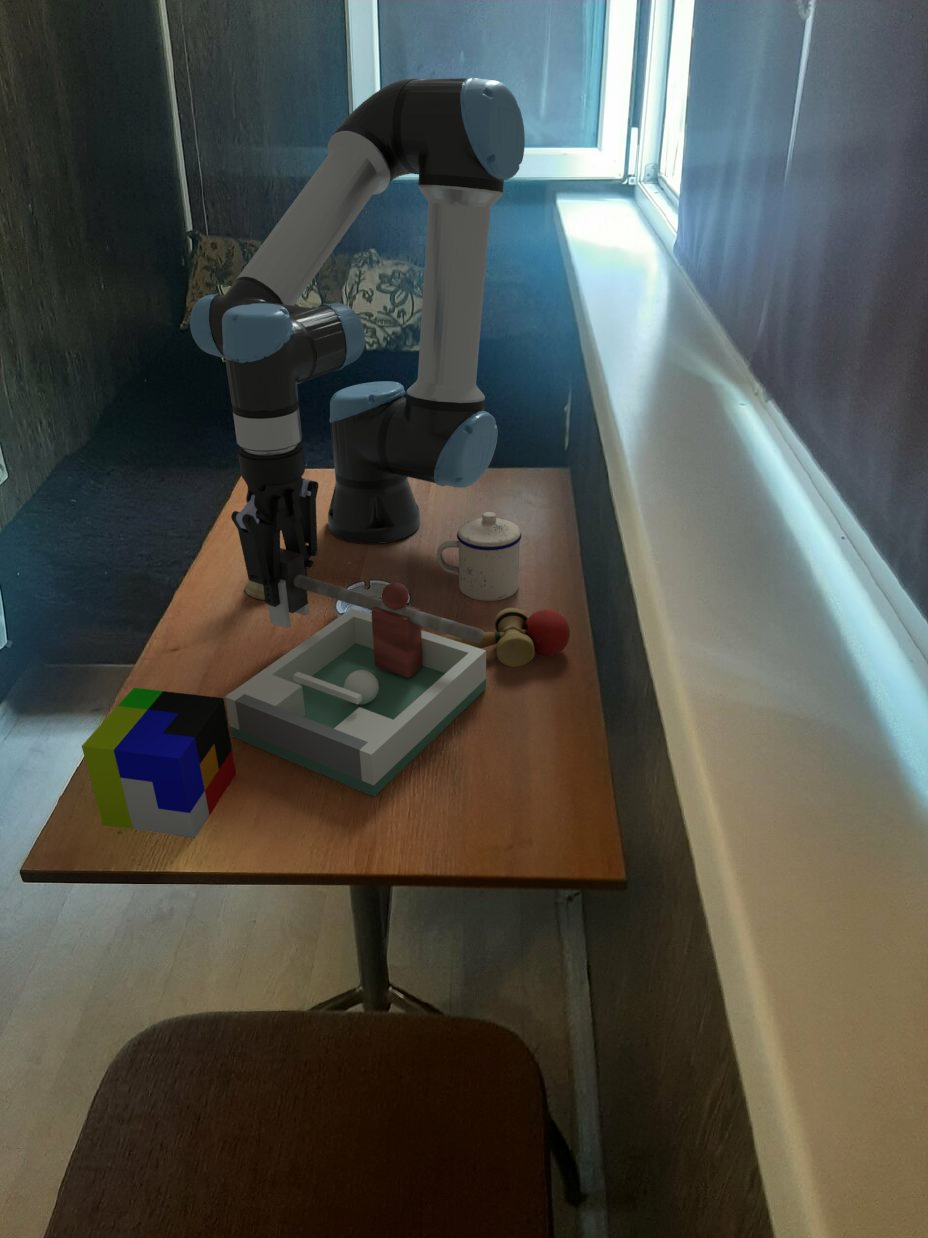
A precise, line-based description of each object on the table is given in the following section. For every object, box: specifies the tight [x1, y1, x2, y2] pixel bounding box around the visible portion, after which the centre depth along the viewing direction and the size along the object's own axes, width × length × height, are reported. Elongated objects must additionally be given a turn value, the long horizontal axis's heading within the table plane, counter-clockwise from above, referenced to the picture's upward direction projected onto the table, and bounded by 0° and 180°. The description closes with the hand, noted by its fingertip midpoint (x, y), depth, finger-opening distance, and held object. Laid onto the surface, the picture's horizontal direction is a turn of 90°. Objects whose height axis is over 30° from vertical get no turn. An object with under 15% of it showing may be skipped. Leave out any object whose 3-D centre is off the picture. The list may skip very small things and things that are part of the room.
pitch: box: [224, 608, 487, 797], centre depth 109 cm, size 23×20×7 cm
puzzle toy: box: [81, 687, 237, 839], centre depth 96 cm, size 10×10×10 cm
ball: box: [344, 670, 379, 705], centre depth 109 cm, size 4×4×4 cm
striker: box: [280, 547, 484, 678], centre depth 114 cm, size 3×30×11 cm, turn 59°
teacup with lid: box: [436, 511, 522, 602], centre depth 135 cm, size 12×9×12 cm
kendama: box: [437, 607, 571, 667], centre depth 121 cm, size 8×6×18 cm
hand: (290, 617), depth 122 cm, fingers closed on striker, 3 cm apart
